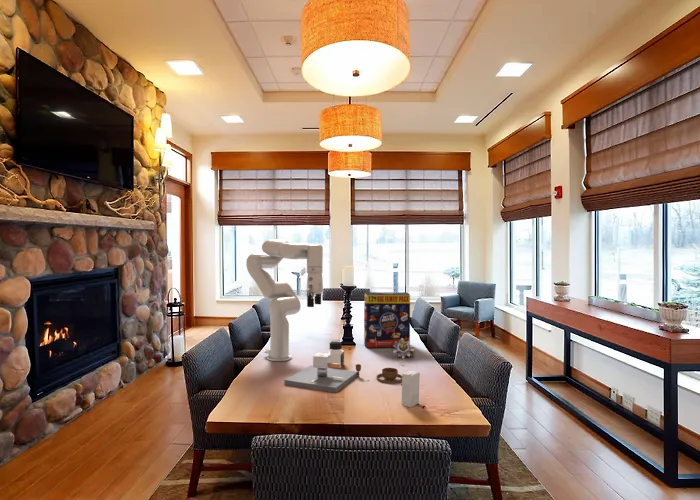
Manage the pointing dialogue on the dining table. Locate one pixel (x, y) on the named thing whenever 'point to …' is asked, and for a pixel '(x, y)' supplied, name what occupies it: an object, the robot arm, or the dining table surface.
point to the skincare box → (410, 388)
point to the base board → (321, 379)
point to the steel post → (321, 372)
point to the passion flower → (403, 348)
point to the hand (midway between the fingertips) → (314, 305)
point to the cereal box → (386, 318)
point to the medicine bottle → (336, 352)
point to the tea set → (385, 374)
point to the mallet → (324, 361)
